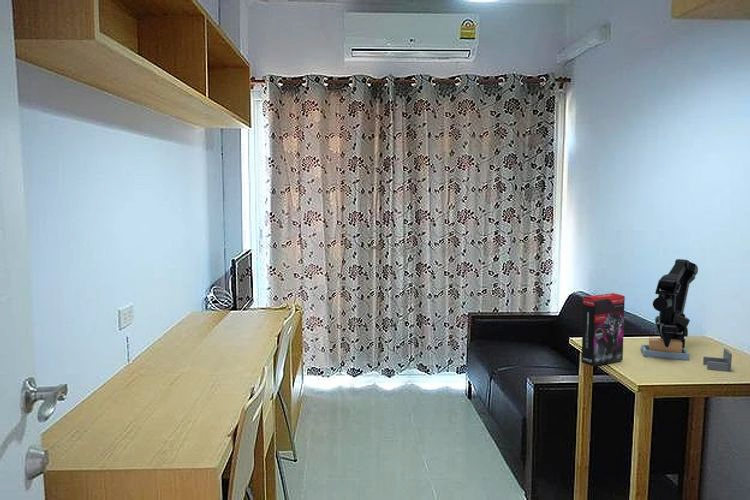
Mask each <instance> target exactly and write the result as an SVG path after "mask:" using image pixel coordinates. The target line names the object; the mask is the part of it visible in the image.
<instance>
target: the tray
mask: <svg viewBox="0 0 750 500" xmlns="http://www.w3.org/2000/svg"><path fill="white" fill-rule="evenodd" d="M648 348H649V344H640V351H641V353H642V356H643V357H645V358H658V359H667V360H678V361H690V353H689V351H688V350H687V349H686V348H682V353H673V352H661V351H649V350H648Z"/></svg>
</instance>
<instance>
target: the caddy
mask: <svg viewBox="0 0 750 500" xmlns="http://www.w3.org/2000/svg"><path fill="white" fill-rule="evenodd" d="M648 345H649V348H648V350H649V351H661V352H673V353H682V342H681V340H677V339H671V341H670V344H669V346H668V347H665V344H664V341H663V338H661V337H652V336H651V337H650V336H649V337H648Z"/></svg>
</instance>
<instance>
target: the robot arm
mask: <svg viewBox="0 0 750 500" xmlns="http://www.w3.org/2000/svg"><path fill="white" fill-rule="evenodd" d="M698 272H699V267H698V265H697V264H696V263H694V262H691V261H690V260H688V259H683V258H681V259H680V258H677V259H675V261H674V265H673V266H672V267H671V269H670V271H669V272H668V273H667V274H664V275H663V276H661V278H660V279H658V282H657V285H656V289H655V293H654V294H655V295H658V296H657V297H656V298H655V299H654V300H653V301H652V306H653V307H652V308H653V309H654V310H656V311H658V312H659V314H658V315H657V316H655V318H654V323H655V326H656V329H657V331H658V334H659V336H660V337H659V338H663V341H664V344H665V347H668V346H669V344H670V341H671V339H677V340H681V342H682V348H685V347H686V339H685V337H688V336H689V331H688V325H689V323H690V322H691V320H690V318H688V317H686V315H685V313H684V311H685V307H686V303H687V302H686V301H687V298H688V294H689V288H690V284H692V282H693V281H695V279H696V275H697V274H699V273H698ZM685 349H686V348H685Z"/></svg>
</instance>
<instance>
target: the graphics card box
mask: <svg viewBox="0 0 750 500" xmlns="http://www.w3.org/2000/svg"><path fill="white" fill-rule="evenodd" d="M625 300H626V297H625V296H624V295H623V294H618V293H616V292H611V293H605V294H593V295H586V296H583V298H582V331H581V332H582V333H581V334H582V335H581V337H582V338H581V363H583V364H585V365H588V366H591V367H597V366H602V365H607V364H611V363H616V362H622V361H623V360H624V357H623V355H624V333H625V332H624V330H625V329H624V327H625Z"/></svg>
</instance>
